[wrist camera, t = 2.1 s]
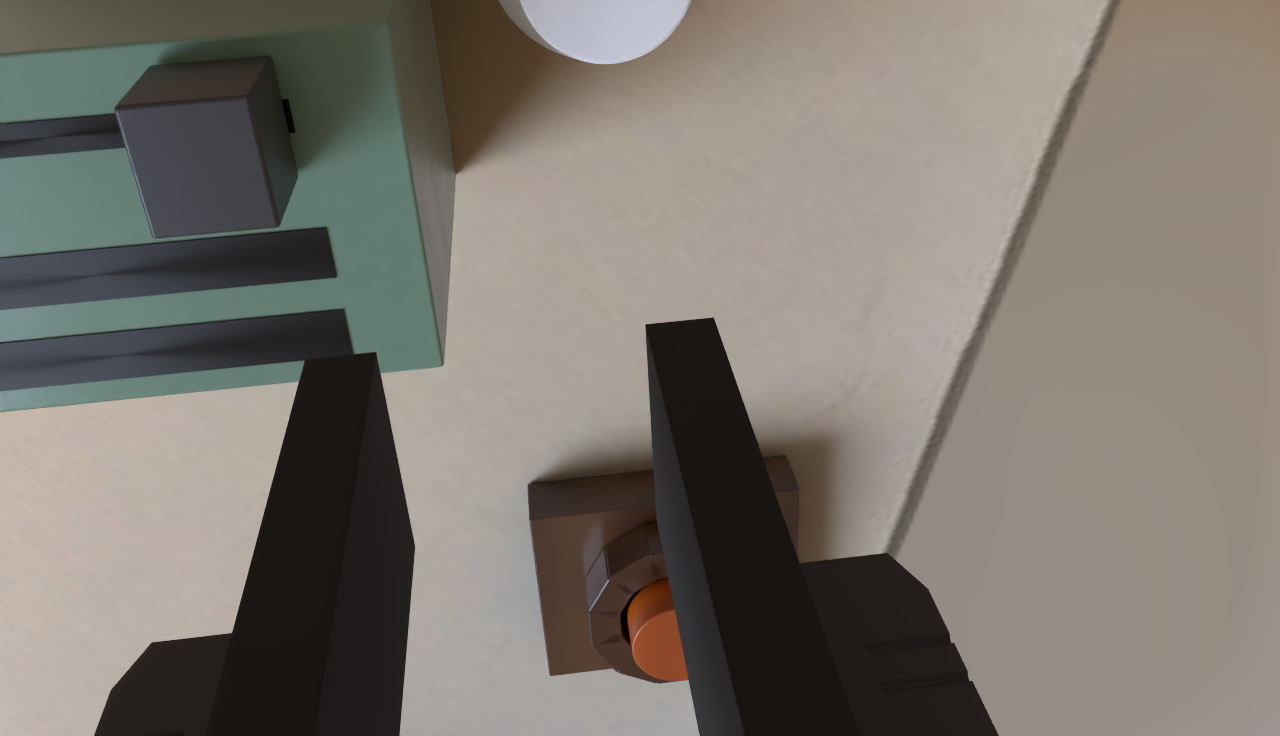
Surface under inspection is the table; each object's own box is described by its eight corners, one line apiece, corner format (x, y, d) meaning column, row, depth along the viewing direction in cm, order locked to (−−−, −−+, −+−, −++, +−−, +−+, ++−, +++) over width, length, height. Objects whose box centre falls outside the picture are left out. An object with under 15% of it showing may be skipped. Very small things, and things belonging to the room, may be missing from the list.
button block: (786, 454, 44) (811, 520, 41) (783, 609, 49) (806, 679, 45) (527, 483, 44) (530, 552, 40) (547, 637, 48) (551, 711, 44)
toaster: (418, -86, 33) (387, 23, 23) (456, 176, 37) (444, 369, 27) (-89, -48, 32) (-361, 84, 22) (8, 217, 36) (-181, 433, 26)
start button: (721, 570, 42) (730, 602, 41) (723, 641, 44) (731, 675, 43) (624, 581, 42) (629, 614, 40) (629, 652, 44) (635, 687, 42)
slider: (272, 54, 23) (249, 95, 20) (300, 178, 24) (280, 229, 22) (147, 64, 22) (111, 107, 20) (182, 188, 24) (151, 240, 22)
